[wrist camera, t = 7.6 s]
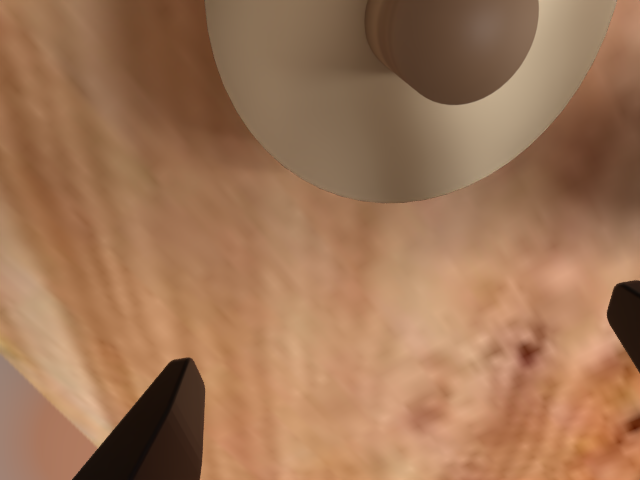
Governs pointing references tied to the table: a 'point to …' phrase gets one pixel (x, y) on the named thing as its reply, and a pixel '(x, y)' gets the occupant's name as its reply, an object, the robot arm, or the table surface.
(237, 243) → the table surface
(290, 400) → the table surface
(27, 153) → the table surface
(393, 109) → the lid
